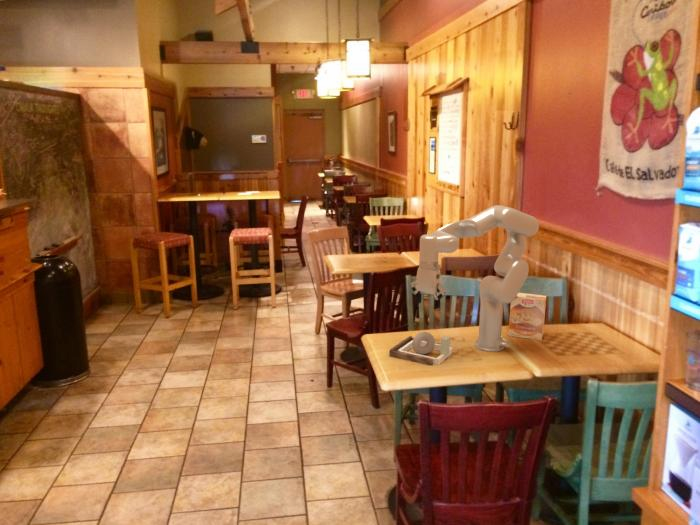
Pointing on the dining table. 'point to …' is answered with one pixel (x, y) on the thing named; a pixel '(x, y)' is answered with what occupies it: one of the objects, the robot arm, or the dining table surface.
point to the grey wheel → (427, 347)
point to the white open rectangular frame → (443, 348)
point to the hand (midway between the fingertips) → (427, 305)
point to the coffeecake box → (527, 316)
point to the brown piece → (409, 357)
